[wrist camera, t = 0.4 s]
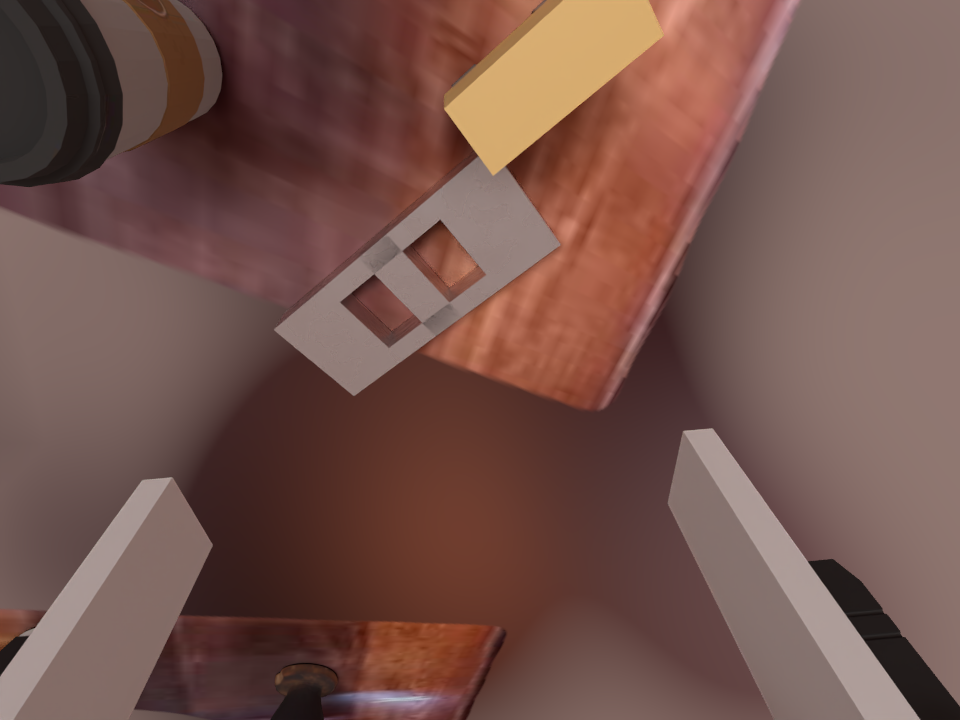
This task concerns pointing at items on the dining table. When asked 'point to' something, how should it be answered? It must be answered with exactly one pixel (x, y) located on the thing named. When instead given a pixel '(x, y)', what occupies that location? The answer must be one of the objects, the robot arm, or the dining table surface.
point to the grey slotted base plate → (419, 275)
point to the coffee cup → (96, 82)
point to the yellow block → (546, 72)
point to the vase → (303, 691)
